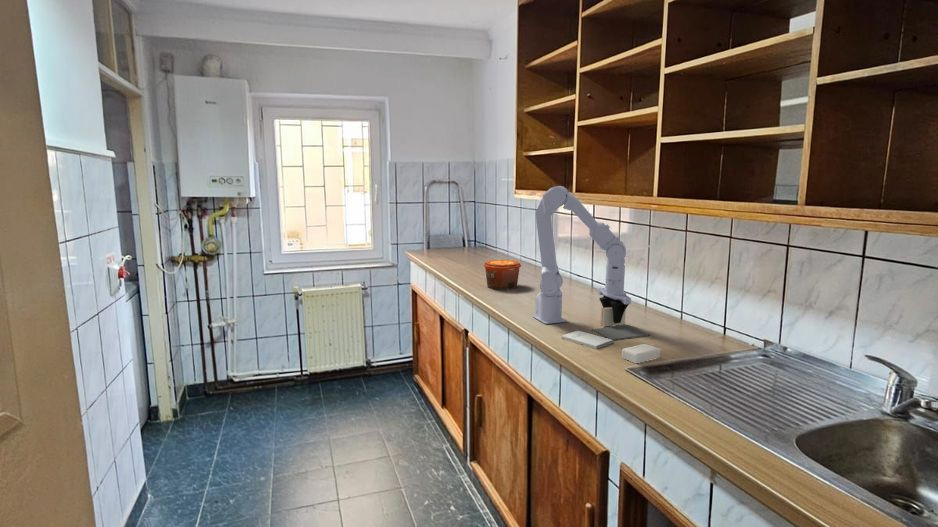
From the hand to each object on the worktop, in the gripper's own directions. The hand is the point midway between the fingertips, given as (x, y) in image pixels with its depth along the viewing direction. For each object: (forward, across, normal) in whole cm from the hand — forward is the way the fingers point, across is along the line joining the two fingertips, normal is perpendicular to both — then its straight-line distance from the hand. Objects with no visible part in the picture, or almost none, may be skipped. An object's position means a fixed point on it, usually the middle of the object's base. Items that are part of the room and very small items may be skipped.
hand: (613, 321), depth 166 cm
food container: (+2, +65, +11) cm, 66 cm away
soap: (+2, -28, +10) cm, 30 cm away
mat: (+1, -8, +3) cm, 8 cm away
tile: (+2, 0, 0) cm, 2 cm away
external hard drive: (+2, -10, +16) cm, 19 cm away
